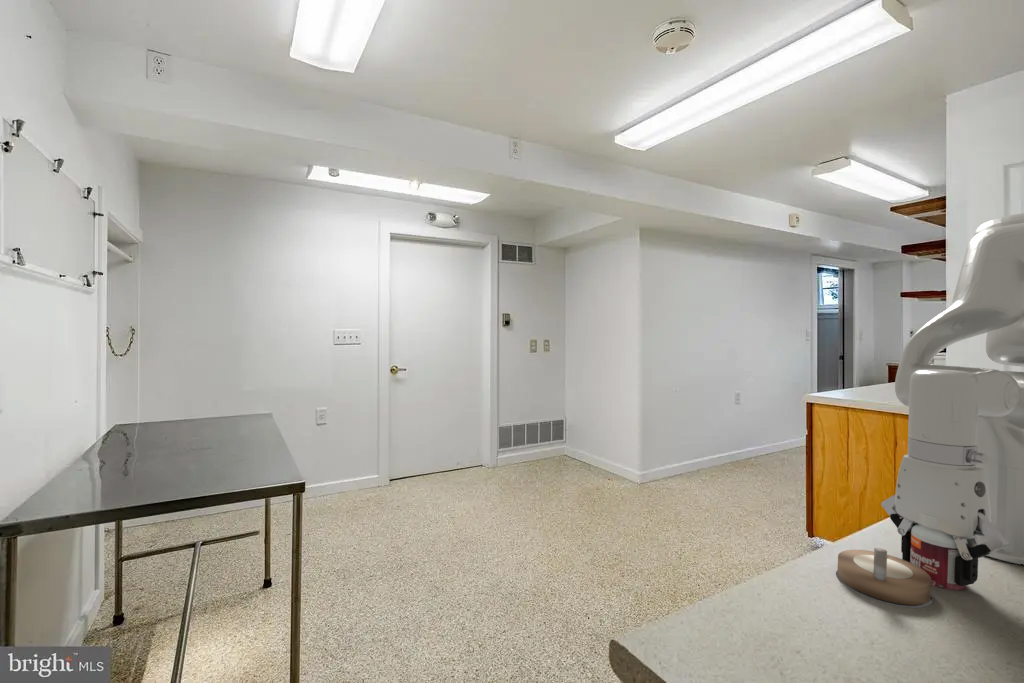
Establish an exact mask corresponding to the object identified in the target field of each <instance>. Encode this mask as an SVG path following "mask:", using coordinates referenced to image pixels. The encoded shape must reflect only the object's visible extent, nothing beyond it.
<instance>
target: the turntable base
mask: <svg viewBox="0 0 1024 683" xmlns="http://www.w3.org/2000/svg"><path fill="white" fill-rule="evenodd" d="M835 576H836V578H837V580H838V581H839V582H840V584H843V585H844V586H845V587H846V588H847V589H849V590H851V591H853V592H855V593H856V594H858V595H860V596H862V597H865V598H868V599H871V600H872V601H877V602H879V603H882V604H887V605H890V606H896V607H902V608H912V609H913V608H914V609H915V608H918V609H919V608H926V607H928V606H930V605H931V604H932V603H933V596H932V595H931V598H930V601H929V602H927V603H925V604H921V605H905V604H898V603H892V602H888V601H884V600H881V599H877V598H874V597H871V596H869V595H866V594H864V593H862V592H859V591H857V590H855V589H854V588H852V587H850V586H849V585H847V584H846V583H844V582H843V581H842V580H841V579H840V578H839V576H838V569H837V570H836V571H835Z"/></svg>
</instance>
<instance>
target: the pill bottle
mask: <svg viewBox="0 0 1024 683" xmlns="http://www.w3.org/2000/svg"><path fill="white" fill-rule="evenodd" d="M918 523H919V524H917V525H915V526H913V527H912V530H911V554H910V563H912V564H914V565H916V566H918V567H919V568H921V569H923V570H924V571H925V572H926V573H928V575H929V576H930V577H931V587H932V586H933V587H936V588H941V589H945V590H951V591H961V590H964V589H965V588H966V586H959V585H957V584H956V583H955V558H956V557H959V556H960V553H959V550H958V548H957V545H956V543H955V540H954V538H953V536H951V535H948V534H945V533H943V532H941V528H940V525H939V523H938V520H937V518H935V517H932V516H929V515H926V514H923V513H920V516H919V519H918ZM920 524H921V525H920ZM938 530H940V531H938Z"/></svg>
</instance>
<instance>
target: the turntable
mask: <svg viewBox="0 0 1024 683" xmlns="http://www.w3.org/2000/svg"><path fill="white" fill-rule="evenodd" d="M837 570H838V576H839V578H840V579H841V580H842V581H843V582H844V583H846V584H847V585H849V586H850V587H852V588H854V589H855V590H857V591H859V592H862V593H864V594H866V595H869V596H871V597H874V598H877V599H881V600H884V601H888V602H892V603H898V604H905V605H921V604H925V603H927V602H929V601H930V598H931V596H932V593H931V592H932V585H931V577H930V576H929V575H928V573H926V572H925V571H924V570H923V569H921V568H919V567H918V566H916V565H914V564H912V563H910V562H908V561H905V560H903V559H902V558H900V557H897V556H894V555H891V554H888V551H887V550H886V549H885V548H881V547H874V549H873V550H867V549H846V550H843V551H840V552H839V553H838V554H837Z"/></svg>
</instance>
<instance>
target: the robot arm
mask: <svg viewBox="0 0 1024 683" xmlns="http://www.w3.org/2000/svg"><path fill="white" fill-rule="evenodd" d="M984 334H986V338H985V352H986V355H987V357H988V358H989V359H990V360H991V361H992V362H994V363H997V364H1000V365H1005V366H1011V367H1024V212H1023V213H1022V212H1021V213H1016V214H1010V215H1005V216H1001V217H996V218H993V219H991V220H988V221H986V222H984V223H982V224H980V225H979V226H978V227H977V228H976V230H975V231H974V235H973V237H972V238H971V239H970V240H969V242H968V244H967V246H966V249H965V253H964V257H963V261H962V264H961V268H960V272H959V275H958V279H957V282H956V286H955V290H954V293H953V296H952V301H951V304H950V306H949V307H948V308H947V309H945V310H944V311H942V312H940V313H939V314H937V315H936V316H934V317H933V318H932V319H930V320H929V321H928V322H926V323H925V324H924V325H923V326H921V327H920V328H919V329H918V330H917V331H916V332H915V333H914V334H913V335H912V336H911V337H910V338H909V340H908V341H907V342H906V344H905V346H904V348H903V350H902V353H901V356H900V360H899V364H898V367H897V371H896V375H895V381H894V391H895V392H894V393H895V395H896V398H897V399H898V401H899V402H900V403H901V404H902V405H904V406H905V407H907V408H908V423H907V424H908V426H907V427H908V430H907V431H908V432H907V436H908V437H907V454H904V455H903V456H902V459H901V462H900V465H899V469H898V473H897V480H896V487H895V494H894V495H892V496H889V498H887V499H885V500H882V501H881V505H880V506H881V507H882V508H883V509H884V510H885V512H886V513H887V515H889V518H890V520H891V522H892V523H893V524H894V525H895V527H896V528H897V529H896V530H897V531H896V532H897V533H898V534H899V535H900V536H901V539H900V540H901V545H900V546H901V547H900V548H901V549H900V551H901V554H902V555H901V556H902V557H901V559H903V560H905V561H908V562H910V554H911V530H912V527H913V526H915V525H917V524H919V523H918V519H919V516H920V513H923V514H926V515H929V516H932V517H935V518H937V520H938V523H939V525H940V528H941V532H943V533H945V534H948V535H951V536H953V538H954V540H955V543H956V545H957V548H958V550H959V553H960V556H959V557H956V558H955V583H956V584H957V585H959V586H965V587H966V586H968V585H973V584H974V583H975V582H976V581H977V580H978V574H979V559H982V558H984V557H989V558H992V559H995V560H996V559H997V560H999V561H1004V562H1008V563H1013V564H1016V565H1021V564H1023V565H1022V566H1024V371H1012V370H1011V371H1010V370H1009V371H1008V370H999V369H993V368H985V367H967V366H956V365H955V366H954V365H935V364H931V362H932V361H933V359H934V358H935V357H936V356H937V355H938V354H939V353H940V352H942V350H944V349H946V348H947V347H949V346H951V345H954V344H956V343H958V342H961V341H964V340H967V339H970V338H973V337H977V336H979V335H984ZM920 525H921V524H920ZM938 531H940V530H938Z"/></svg>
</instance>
